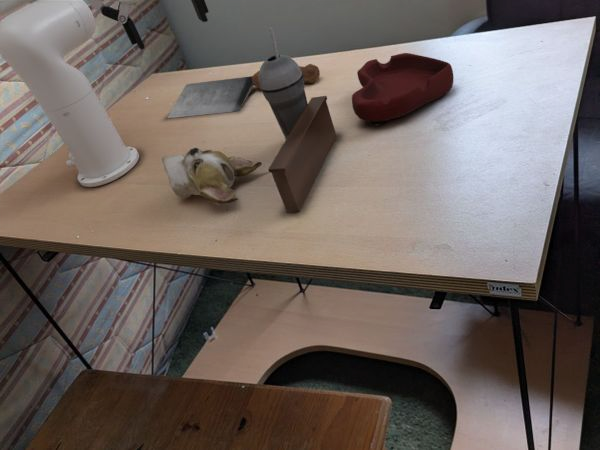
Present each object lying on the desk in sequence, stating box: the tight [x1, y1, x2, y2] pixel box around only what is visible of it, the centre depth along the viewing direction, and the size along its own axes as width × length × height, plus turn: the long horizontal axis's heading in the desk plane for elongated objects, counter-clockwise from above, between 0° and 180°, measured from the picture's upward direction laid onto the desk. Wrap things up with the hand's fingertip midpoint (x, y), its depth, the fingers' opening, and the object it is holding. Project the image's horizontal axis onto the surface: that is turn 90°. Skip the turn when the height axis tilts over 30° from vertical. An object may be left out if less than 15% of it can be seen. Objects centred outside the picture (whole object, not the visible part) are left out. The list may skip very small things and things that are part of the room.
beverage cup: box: [258, 27, 309, 140], centre depth 89 cm, size 7×7×20 cm
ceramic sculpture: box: [161, 147, 263, 206], centre depth 88 cm, size 11×9×15 cm
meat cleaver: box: [167, 63, 321, 119], centre depth 117 cm, size 34×11×4 cm, turn 69°
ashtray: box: [351, 52, 455, 126], centre depth 94 cm, size 18×16×5 cm
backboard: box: [267, 95, 338, 213], centre depth 84 cm, size 3×20×8 cm, turn 161°
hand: (172, 33), depth 79 cm, fingers open, 9 cm apart
